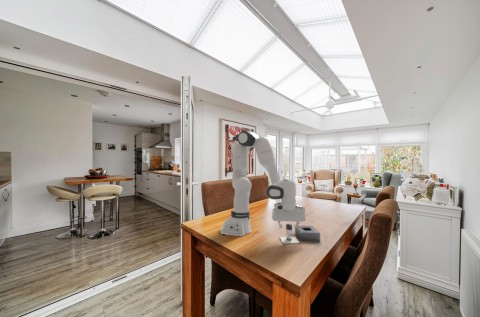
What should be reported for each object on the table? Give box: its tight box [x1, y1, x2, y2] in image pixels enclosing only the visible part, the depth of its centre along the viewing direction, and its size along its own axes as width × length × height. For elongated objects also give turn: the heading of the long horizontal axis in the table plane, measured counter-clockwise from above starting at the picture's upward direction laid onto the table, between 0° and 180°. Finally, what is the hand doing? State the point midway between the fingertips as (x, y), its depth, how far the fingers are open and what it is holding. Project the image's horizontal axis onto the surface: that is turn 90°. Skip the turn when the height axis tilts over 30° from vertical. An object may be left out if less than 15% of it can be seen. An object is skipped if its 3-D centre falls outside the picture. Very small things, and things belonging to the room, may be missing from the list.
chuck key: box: [285, 223, 293, 241], centre depth 108 cm, size 4×4×9 cm
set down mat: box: [279, 236, 300, 245], centre depth 107 cm, size 10×8×1 cm
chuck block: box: [294, 225, 321, 242], centre depth 113 cm, size 12×12×5 cm
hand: (288, 228), depth 108 cm, fingers open, 8 cm apart
